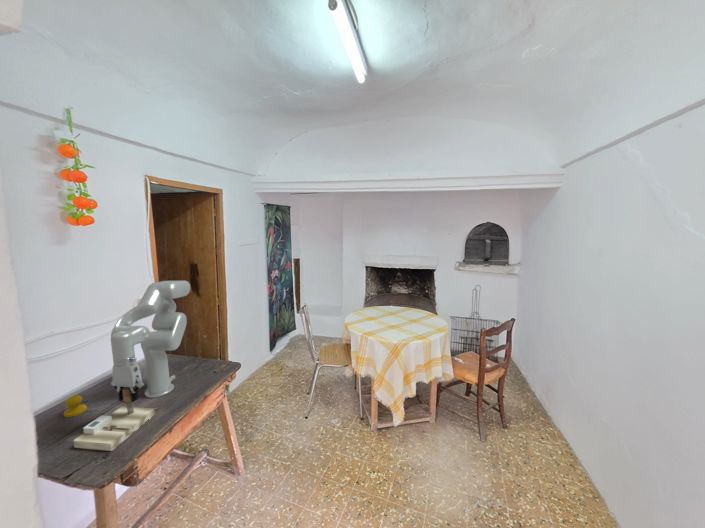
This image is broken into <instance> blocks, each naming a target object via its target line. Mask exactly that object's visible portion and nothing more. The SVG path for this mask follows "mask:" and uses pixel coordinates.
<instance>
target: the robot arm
mask: <svg viewBox="0 0 705 528" xmlns="http://www.w3.org/2000/svg"><path fill="white" fill-rule="evenodd" d="M190 291H191V284H190V282H189V281H187V280H162V281H159V282H151V284H149V285H148V287H147V288H146V289H145V292H144V294H143V295H142V297H141V299H140V301H139V302H138V304H137V305H136V306H134V307H133V308H131V309H129V310H127V312H125V313H124V314H123V315H121V316H120V318H118V320H116V323H115V324H114V327H113V328H112V331H111V333H110V345H111V353H112V364H113V365H112V374H111V375H112V381H111V382H110V385H111V386H113V387H114V389H115V390H116V392H117V393H118V394H117V395H118V400H119V402H122V401H123V393H122V388H123V387H130V389H131V392H132V393H131V401H132V402H133V403H134V402H136V401H137V400H139V390H140V389H141V388H142V387H143V386H145V384H144V382H143V378H142V372H141V368H140V364H139V363H138V361H137V357H136V354H135V345H138V344H140V348H141V349H142V353H143V357H144V364H145V374H146V383H147V389H146V390H144V396H145V397H146V398H150V399H153V398H154V399H155V398H159V397H163V396H166V395H168V394H169V393H172V391H173V390H174V387H175V386H174V384H173V383H172V381H174V380H175V379H176V375H171V376H170V372H169V371H170V370H169V362H168V354H167V353H166V351H176V350H177V349H178V348H179V346H181V342H182V339H183V337H184V333H185V331H186V327H187V322H188V320H187V315H186V314H185V313H184V312H179V311H177V312H176V310H177V304H176V302H175V301H174V299H178V298H179V299H180V298H183V297H186V296H188V295H189V294H190ZM153 315H154V317H153V319H152V322H151V328H152V330H154V331H150V329H149V327H147V326H146V325H132V324H134V323H136V322H137V321H140V320H143V319H145V318H148V317H151V316H153Z"/></svg>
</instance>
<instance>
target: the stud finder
mask: <svg viewBox="0 0 705 528" xmlns="http://www.w3.org/2000/svg"><path fill="white" fill-rule="evenodd" d="M110 422H112V417H111V416H109V415H103V414H102V415H99V416H98V417H97V418H96V419H94V420H93V421H91V422H90V423H88V424H87V425H85V426H84V427H83V428H82V429H83V430H82V431H83V433H85V434H95V433H97V432H98V431H99V430H101V429H102V428H103V427H105V426H106V425H108V424H109V423H110Z"/></svg>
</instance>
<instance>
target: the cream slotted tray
mask: <svg viewBox="0 0 705 528" xmlns="http://www.w3.org/2000/svg"><path fill="white" fill-rule="evenodd" d="M133 409H134V413H132V414H128V412H127V406H124V405H121V406H120V407H119V408H118V409H116V410H114V411H113V412H112V413H110V414H109V415H108V416H111V417H112V422H110V423H109V424H108V425H106V426H105V427H103V428H102V429H101V430H99V431H98V432H97V433H95V434H85V433H84V432H83V433H82V434H80V435H79V436H77V437H76V438H75V439H74V440H72V441H73V447H74V449H75V448H77V449H85V450H86V449H87V450H88V449H89V450H96V451H97V450H98V451H108V452H109V451H110V452H112V451H113V450H115V449H116V448H117V447H118V446H119V445H121V444H122V443H123V442H124V441H125V440H127V439H128V438H129V437H130V436H132V435H133V434H134V433H135V432H136V431H137V430H138V429H140V428H141V427H142V426H143V425H144V424H146V423H147V422H148V421H149V420H151V419H152V418H153V417H154V416H155V415H156V413H155V412H156V411H155V408H153V407H150V408H149V407H139V406H138V407H136V406H133ZM154 414H155V415H154ZM153 415H154V416H153ZM152 416H153V417H152ZM151 417H152V418H151ZM148 419H149V420H148ZM147 420H148V421H147ZM146 421H147V422H146ZM145 422H146V423H145ZM141 425H142V426H141ZM140 426H141V427H140ZM139 427H140V428H139ZM134 431H135V432H134ZM133 432H134V433H133ZM132 433H133V434H132Z"/></svg>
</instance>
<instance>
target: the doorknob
mask: <svg viewBox="0 0 705 528" xmlns="http://www.w3.org/2000/svg"><path fill="white" fill-rule="evenodd" d="M82 401H83V397H82V395H81V396H80V395H79V394H77V395H72V396H70V397H68V398H67V399H66V401H65V405H66V406H67V407H68V408H67V409H65V411H64V412H63V417H65V418H73V417H76V416H80V415H81V414H83V413H84V412H86V411H87V409H88V406H87V405H86V404H81V403H82Z"/></svg>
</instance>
